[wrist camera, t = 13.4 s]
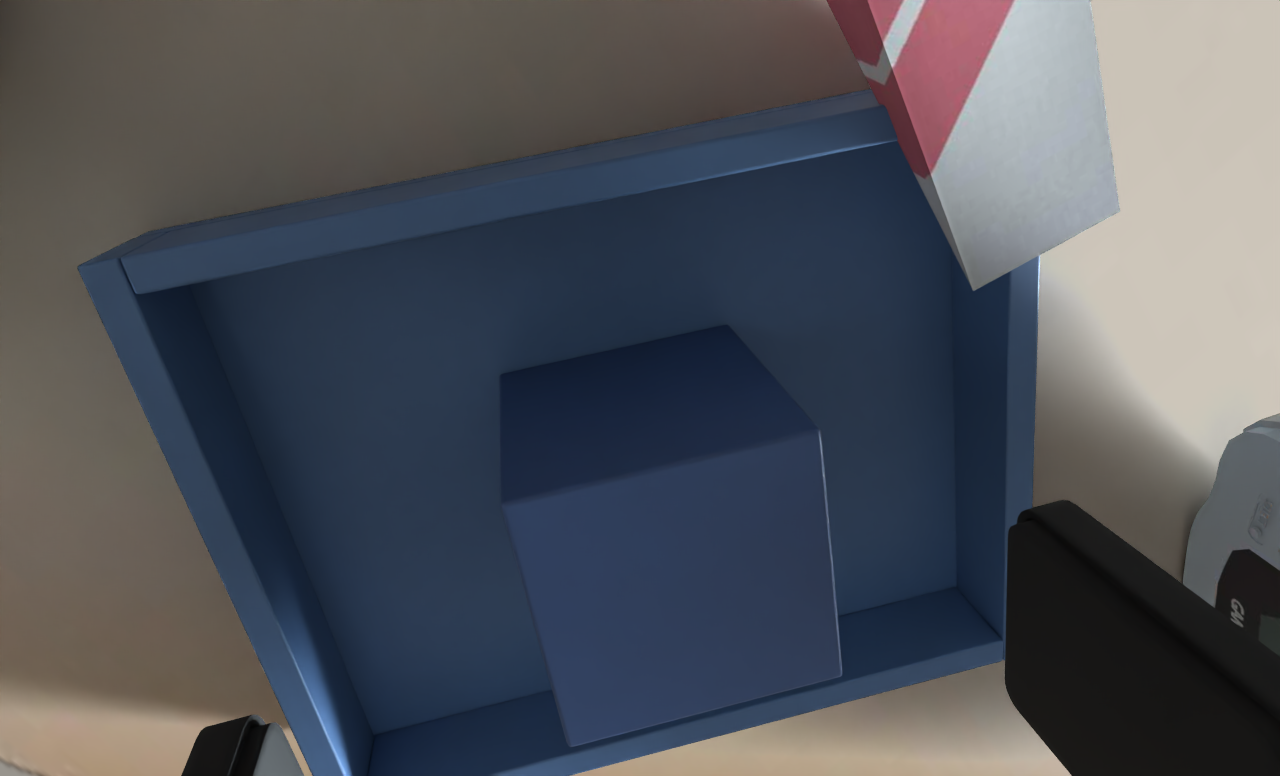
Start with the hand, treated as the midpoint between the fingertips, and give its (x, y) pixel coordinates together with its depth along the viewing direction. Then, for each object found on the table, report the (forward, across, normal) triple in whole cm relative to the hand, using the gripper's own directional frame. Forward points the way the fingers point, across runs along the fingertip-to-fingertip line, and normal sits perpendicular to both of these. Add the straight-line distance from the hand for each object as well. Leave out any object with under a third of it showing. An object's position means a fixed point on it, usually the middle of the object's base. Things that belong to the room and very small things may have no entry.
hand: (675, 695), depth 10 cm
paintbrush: (+7, -5, -12) cm, 15 cm away
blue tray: (+7, -1, 0) cm, 8 cm away
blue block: (+7, -1, 0) cm, 7 cm away
